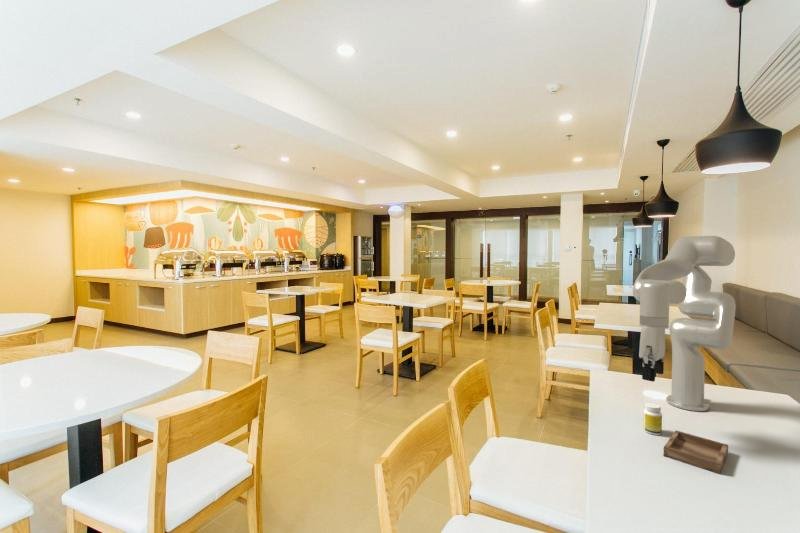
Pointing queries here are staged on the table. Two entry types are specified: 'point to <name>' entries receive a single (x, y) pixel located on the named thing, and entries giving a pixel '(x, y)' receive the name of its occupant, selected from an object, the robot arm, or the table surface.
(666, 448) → the tray
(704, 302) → the robot arm
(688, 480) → the table surface
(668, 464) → the table surface
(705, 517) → the table surface
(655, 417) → the supplement bottle
